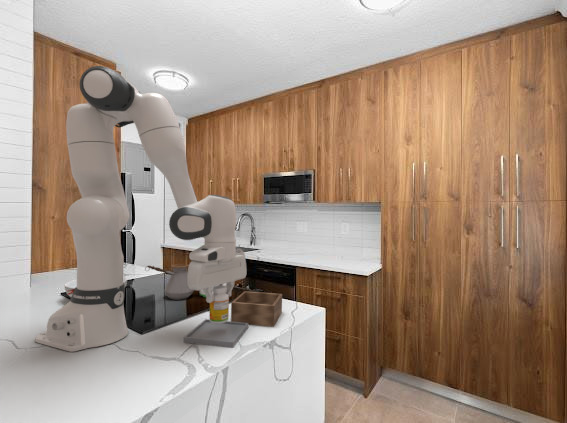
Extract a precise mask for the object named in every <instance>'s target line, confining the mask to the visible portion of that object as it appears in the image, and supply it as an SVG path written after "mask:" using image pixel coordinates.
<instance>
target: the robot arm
mask: <svg viewBox="0 0 567 423" xmlns="http://www.w3.org/2000/svg"><path fill="white" fill-rule="evenodd" d="M79 89H80V92H81V94H82V96H83V98H84V99H85V100H86V103H78V104H75V105H73V106H71V107H70V108H69V109H68V110H67V115H66V124H65V125H66V126H65V128H66V130H65V131H66V132H65V133H66V142H67V150H68V158H69V163H70V165H69V166H70V170H71V175H72V178H73V179H74V182H75V183H76V185H77V188H78V191H79V193H80V196H81V198H79V199H77V200H76V201H74V202H73V203H72V204H71V205H70V206H69V208H68V209H67V212H66V223H67V225H68V227H69V228H70V230H71V234H72V238H73V239H72V240H73V243H74V244H73V245H74V248H75V249H74V250H75V255H76V279H77V287H76V288H75V289H72V290H68V291H71V292H70V293H68V294H67V293H66V294H67V296H69V294H72V293H73V294H72V297H70V300H69V301H68V302H67V303H66V304H64V305H63V306H62V307H61V308H59V309H57V310H56V311H55V312H54V313H52V314H51V315H50V316H49V318H48V319H47V320H48V321H47V324H46V330H45V331H42V332H41V333H39V334H38V335H36V337H35V339H34V342H35V343H37V344H41V345H44V346H49V347H52V348H57V349H60V350H64V351H66V352H70V353H72V352H77V351H81V350H85V349H88V348H89V349H90V348H96V347H102V346H106V345H109V344H113V343H115V342H116V343H117V342H118V341H120V340H122V339H123V338H125V337H126V336H128V334H129V328H128V326H127V322H126V316H125V307H124V301H125V293H126V286H125V284H124V283H123V277H124V263H125V262H124V261H125V260H124V259H125V258H124V257H125V256H124V253H123V250H122V244H121V243H122V242H121V236H120V234H121V233H120V231H122V230H123V229H124V228H125V227H126V226H127V224H128V222H129V220H130V210H129V206H128V203H127V199H126V194H125V189H124V186H123V184H122V179H121V176H120V171H119V166H118V158H117V152H116V150H117V149H116V144H115V138H114V128H123V127H125V126H127V125H131V124H132V125H133V124H134V126H135V128H136V130H137V134H138V137H139V140H140V143H141V145H142V148H143V151H144V152H145V154H146V156H147V158H148V159H149V161H150V163H151V164H153V165H154V166H155V167H156V168H157V170H158V171H159V172H161V174H162V175H163V176H164V177H165V179H166V180H167V183H168V184H169V186H170V189H171V192H172V194H173V195H172V196H173V198H174V201H175V204H176V206H177V209H176V210H174V211H173V213H172V214H171V216H170V218H169V221H168V222H169V223H168V224H169V225H168V226H169V229H170V232H171V233H172V235H173V236H175V237H176V238H178V239H179V240H183V241H193V240H196V239H201V238H203V239H204V244H203V245H201V246H200V247H198V248H196V249H194V250H192V251H191V252H190V253H189V255H188V257H189V260H191V261H190V262H189V264H188V267H187V273H188V276H187V284H188V287H189V288H190V289H192V290H194V291H199V290H202V289H203V291H204V293H205V295H206V297H205V298H206V299H205V301H206V303H207V304H208V303H209V304H210V303H211V302H214V298H215V296H214V295H212V294H211V291H212V287H213V286H217V285H221V284H225V283H226V284H227V285H226V287H227V292H226V294H228V296H229V298H230V297H232V290H233V289H234V286H235V282H236V281H239V280H240V281H241V280H242V279H245V278H246V276H247V271H248V270H247V261H246V256H245V251H244V250H243V249H242V248H236V247H237V245H236V243H237V242H236V241H237V239H236V235H235V233H236V232H235V231H236V228H237V210H236V204H235V202H234V201H233V200H232V199H231V198H229V197H227V196H222V195H219V194H208V195H207V196H206V197H204V198H203V199H201V200H198V198H197V196H196V193H195V190H194V186H193V183H192V181H191V178H190V174H189V170H188V162H187V155H186V148H185V147H186V146H185V140H184V138H183V133H182V130H181V126H180V124H179V121H178V119H177V116H176V114H175V112H174V109H173V107H172V106H171V104H170V102H169V101H168V99H167V98H166V97H165V95H162V94H160V93H157V92H146V93H141V92H140V91H139V90H138V89H137V88H136V87H135V85H134V84H133V83H132V82H130V81H129V80H128V79H126V78H125V77H124V76H122V75H121V73H119V72H118V71H115V70H114V69H112V68H110V67H106V66H102V65H95V66H91V67H89V68H87V69H86V70H85V71H84V72H83V73H82V75H81V76H80V79H79ZM68 291H67V292H68Z"/></svg>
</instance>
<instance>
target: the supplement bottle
mask: <svg viewBox="0 0 567 423" xmlns="http://www.w3.org/2000/svg"><path fill="white" fill-rule="evenodd" d="M212 291H213V294H212V295H214V296H215V298H214V302H211V303H209V320H210V322H211V323H214V324H220V323H225V322H227V321H229V316H230V315H229V314H230V313H229V311H230V310H229V307H230V297H229V296H228V294H226V292H227V285H226V286H222V285H220V286H214V287H213V290H212Z"/></svg>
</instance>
